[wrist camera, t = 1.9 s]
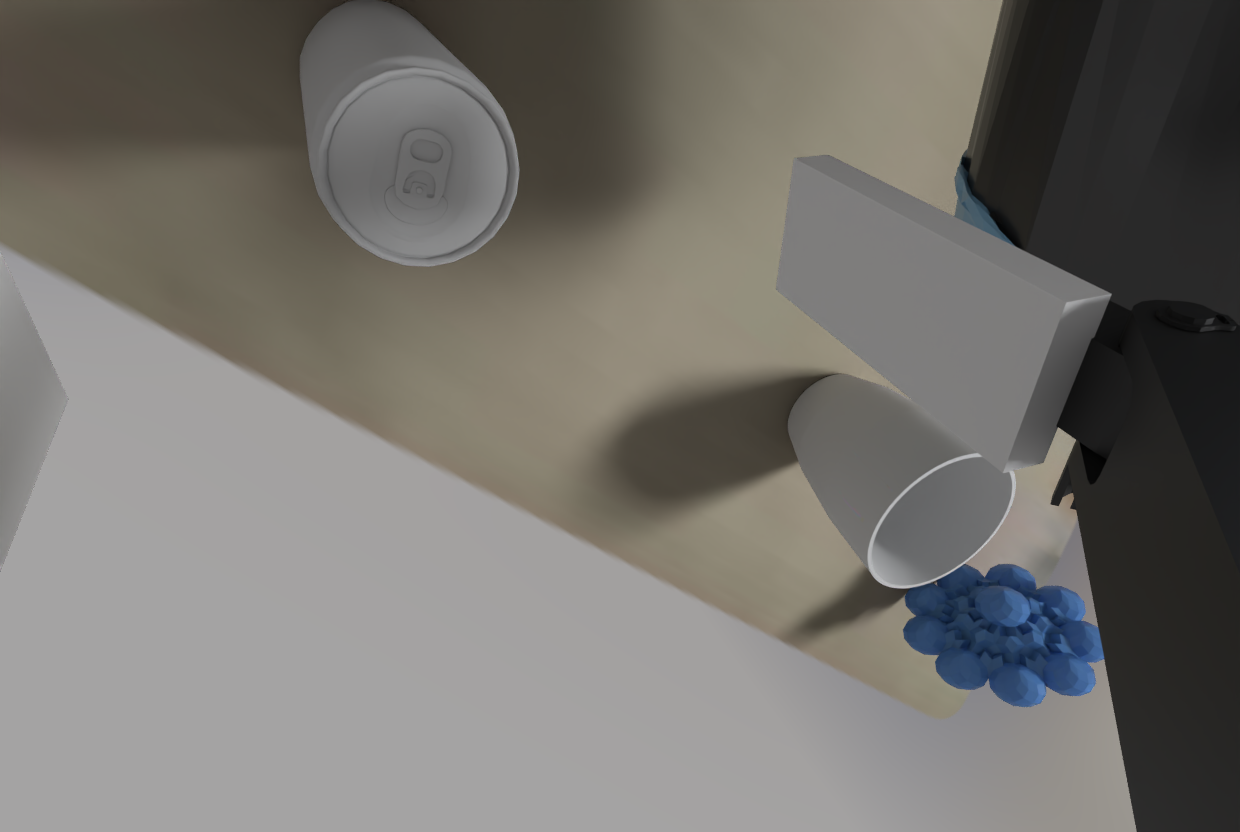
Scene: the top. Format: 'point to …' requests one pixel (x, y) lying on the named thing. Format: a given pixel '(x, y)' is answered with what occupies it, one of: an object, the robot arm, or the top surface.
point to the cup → (896, 480)
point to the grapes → (1004, 634)
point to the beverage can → (403, 137)
